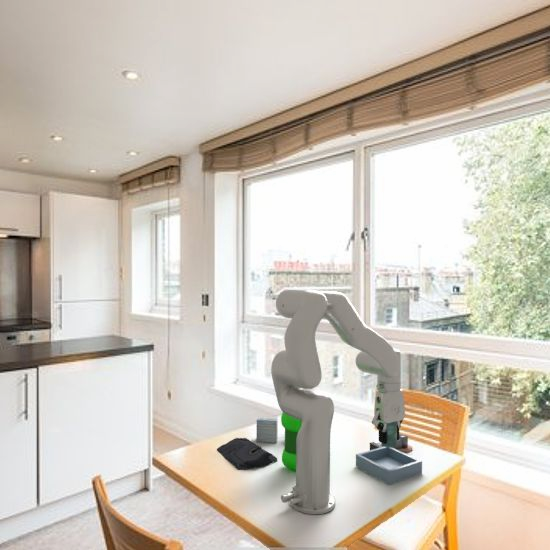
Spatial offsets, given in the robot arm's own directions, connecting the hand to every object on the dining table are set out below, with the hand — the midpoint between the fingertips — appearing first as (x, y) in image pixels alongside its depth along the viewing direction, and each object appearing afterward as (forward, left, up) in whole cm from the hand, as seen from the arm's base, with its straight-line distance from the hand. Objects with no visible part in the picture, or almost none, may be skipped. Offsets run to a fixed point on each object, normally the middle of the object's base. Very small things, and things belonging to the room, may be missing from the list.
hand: (389, 440), depth 141 cm
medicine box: (-22, +42, -10) cm, 49 cm away
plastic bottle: (-26, +16, -10) cm, 32 cm away
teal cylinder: (0, 0, -1) cm, 1 cm away
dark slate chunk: (-36, +34, -11) cm, 50 cm away
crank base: (+18, +10, -10) cm, 23 cm away
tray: (0, 0, -10) cm, 10 cm away
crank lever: (+11, +10, -9) cm, 18 cm away
